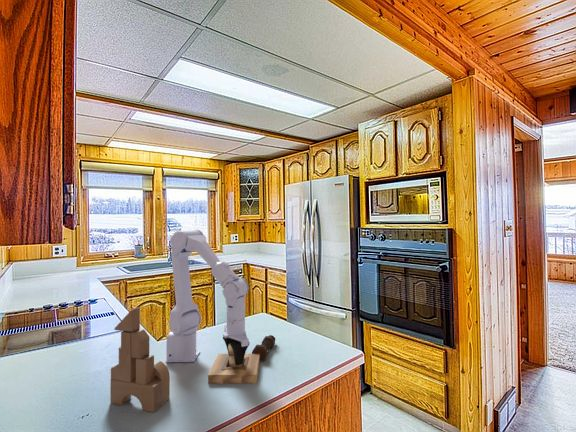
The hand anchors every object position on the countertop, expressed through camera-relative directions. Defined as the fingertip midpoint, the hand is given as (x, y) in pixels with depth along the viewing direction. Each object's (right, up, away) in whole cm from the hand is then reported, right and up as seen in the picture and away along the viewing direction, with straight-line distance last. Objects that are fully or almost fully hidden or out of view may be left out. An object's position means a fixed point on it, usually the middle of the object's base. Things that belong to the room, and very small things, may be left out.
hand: (235, 361), depth 98 cm
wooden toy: (-23, -3, -15) cm, 28 cm away
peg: (0, -3, 0) cm, 3 cm away
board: (0, -3, 0) cm, 3 cm away
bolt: (+9, -4, +14) cm, 17 cm away
